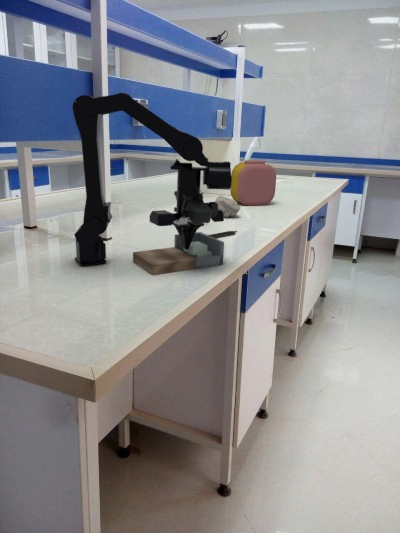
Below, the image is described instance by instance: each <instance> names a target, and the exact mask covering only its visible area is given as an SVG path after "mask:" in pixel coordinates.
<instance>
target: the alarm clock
mask: <svg viewBox="0 0 400 533" xmlns="http://www.w3.org/2000/svg"><path fill="white" fill-rule="evenodd" d="M231 176H232V182H231V188H230V190H229V192H230V195H231V197H232V198H231V199H232V200H234V201H236V202H237V203H240V204H242V205H243V206H265V205H268V204H269V203H271V202H272V200H273V199H274V198H275V195H276V186H277V172H276V170H275V168H274V166H272V164H271V165H270V164H267V163H266V160H262V159H261V160H259V159H258V160H257V159H246V160H245V159H244V162H240V163H239V162H238V163H237V164H236V165H235V166H234V167H233V169H231Z"/></svg>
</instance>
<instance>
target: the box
mask: <svg viewBox="0 0 400 533" xmlns="http://www.w3.org/2000/svg"><path fill="white" fill-rule="evenodd" d="M209 235H210V234H206V233H204V232H202V231H196V233H195V235H194V237H193V239H192V242H197V241H198V242H201V243H203V244H206V245H208V247H207V250H208V251H210V252H212V256H205V257H198V258H196V259H197V262H196V269H202V268H207V267H216V266H221V265H224V255H225V254H224V253H225V252H224V251H225V250H224V249H225V241H222V240H220V239H217V238H213V237H211V236H209ZM173 247H175V248H177V249H179V250H181V251H183V252H184V253H186V254H188V255H189V253H188V252H185V251H184V246H183V244H182V241H181V238H180V236H179V233H177V234H174V246H173Z"/></svg>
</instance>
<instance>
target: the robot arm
mask: <svg viewBox="0 0 400 533" xmlns="http://www.w3.org/2000/svg"><path fill="white" fill-rule="evenodd" d="M118 112H124V113H125V114H127V115H128V116H129V117H131V118H132V119H135V120H136V122H138V123H140V124H141V125H143V127H146V128H147V129H149V131H151V132H153V133H154V134H156V135H157V136H159V137H160V138H161V139H163V140H164V141H165V142H166V143H167V144H168V145H169V146H170V147H171V148H172V149H173V150H174V151H175V152H176V153H177V154H178V155H179V156H180V157H181V158H182V159H183V160H185V161H187V162H181V161H179V159H178V158H176V159H175V161H174V162H173V163H172V164H171V165H170V166H169V169H170V170H174V171H177V180H176V181H177V182H176V183H177V184H176V191H175V190H174V192H175V194H174V196H175V195H176V196H177V200H176V206H175V207H173V212H174V213H173V212H170V211H168V210H165V209H163V210H162V209H161V210H152V211H151V212H150V214H149V222H150V223H152V224H153V225H156V226H158V227H169V226H174V229H176V231H177V234H179V236H180V238H181V241H182V244H183V246H184V249H186V250H187V249H189V247H190V244H191V242H192V239H193V237H194V235H195V233H196V232H198V230H199V229H200V228H201V227H204V226H205V223H206V224H209V223H210V222H211V221H213V222H214V223H219V222H224V219H225V217H224V213H223V211H222V210H220V209H218V204H217V203H216V202H215V201H209V202H204V196H203V195H204V193H203V194H201V193H200V190H201V179H202V185H203V186H204V185H205V186H206V189H207V190H223V191H224V190H229V191H230V189H231V182H232V176H231V174H232V168H231V164H232V163H231V162H230V161H209V158H208V157H206V156H205V153H204V152H203V150H204V147H203V143H202V141H201V140H200V138H197V137H196V136H194V135H192V134H190V133H187V132H186V131H183V130H182V129H179V128H177V127H175V126H172V125H171V124H170V123H168V122H167V121H165V120H164V119H162V118H161V117H160V116H159V115H156V113H154V112H152V111H151V110H150V109H149V108H147V107H145V106H144V105H143V104H141V103H140V102H138V101H137V100H135V98H133V97H132V96H131V95H130V94H129V93H127V92H124V91H121V92H119V93H116V94H115V93H114V94H110V95H105V96H104V95H103V96H99V97H93V96H91V95H87V94H86V95H85V94H83V95H79V96H77V97H76V98H75V100H74V101H73V103H72V113H73V118H74V119H75V120H74V121H75V124H76V128H77V129H78V133H79V136H80V139H81V149H82V150H81V152H82V161H83V162H82V164H83V174H84V185H85V195H86V197H85V204H84V211H83V220H82V221H83V222H82V224H81V225H80V226H79V227H78V229H77V231H75V233H74V237H75V255H76V257H74V261H76V263H77V264H78V265H80V266H81V267H86V266H87V267H88V266H95V265H102V264H103V265H104V264H107V260H106V259H107V249H106V248H107V247H106V242H104V238H103V237H102V236H101V235H102V234H104V233H105V232H106V230H107V229H108V227H109V224H110V223H111V221H112V218H113V215H112V213H111V210H112V209H111V208H112V202H111V201H108V202H106V200H105V197H104V191H103V178H102V166H101V165H102V164H101V153H100V139H99V136H100V129H101V125H102V124H101V122H102V116H104V115H105V116H106V115H108V114H113V113H118ZM192 162H195V163H196V164H198V165H199V167H198V166H193V163H192ZM200 166H201V167H200ZM201 173H202V176H201ZM201 177H202V178H201ZM176 196H175V197H176ZM181 216H185V217H181Z"/></svg>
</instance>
